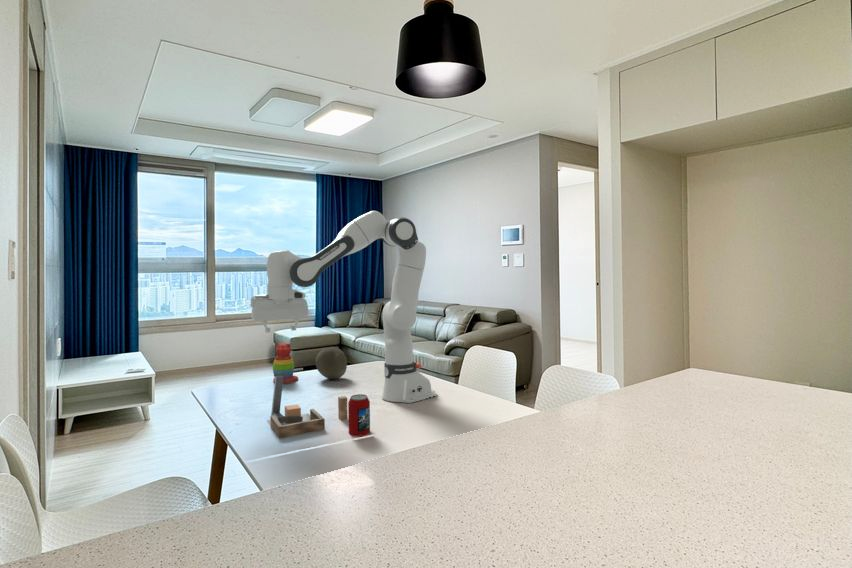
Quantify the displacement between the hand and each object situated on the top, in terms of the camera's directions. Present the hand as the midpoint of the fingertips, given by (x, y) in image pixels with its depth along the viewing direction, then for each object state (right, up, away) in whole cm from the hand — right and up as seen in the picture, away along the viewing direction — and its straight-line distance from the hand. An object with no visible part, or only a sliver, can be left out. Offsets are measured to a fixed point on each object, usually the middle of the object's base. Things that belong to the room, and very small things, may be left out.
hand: (280, 331), depth 172 cm
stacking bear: (-11, -28, +41) cm, 51 cm away
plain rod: (+25, -30, -12) cm, 41 cm away
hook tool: (+6, -29, -12) cm, 32 cm away
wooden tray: (+10, -30, -18) cm, 36 cm away
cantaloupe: (+10, -27, +44) cm, 53 cm away
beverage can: (+33, -30, -25) cm, 51 cm away
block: (+8, -29, -13) cm, 33 cm away
